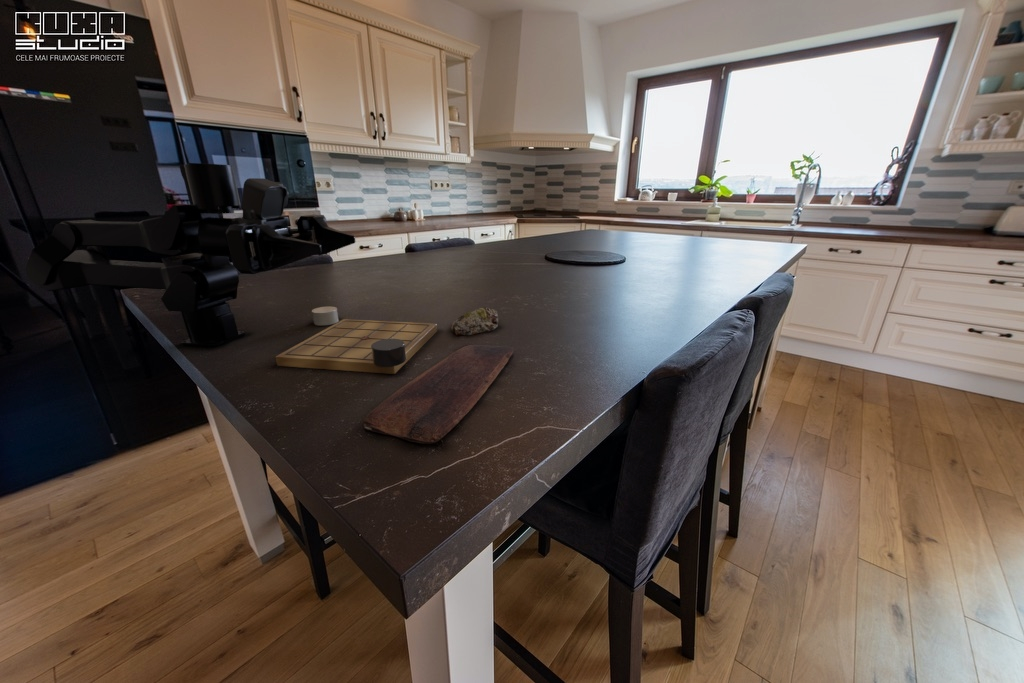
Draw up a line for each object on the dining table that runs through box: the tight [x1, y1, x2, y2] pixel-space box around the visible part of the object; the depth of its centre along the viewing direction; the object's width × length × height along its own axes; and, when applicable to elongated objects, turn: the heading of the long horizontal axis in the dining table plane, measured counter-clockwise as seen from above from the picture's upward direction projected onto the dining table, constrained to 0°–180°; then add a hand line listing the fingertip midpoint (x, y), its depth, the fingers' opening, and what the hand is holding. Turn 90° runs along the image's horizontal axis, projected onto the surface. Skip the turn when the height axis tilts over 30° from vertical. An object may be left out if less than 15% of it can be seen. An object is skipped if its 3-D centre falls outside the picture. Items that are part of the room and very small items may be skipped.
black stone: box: [371, 339, 406, 367], centre depth 55 cm, size 4×4×2 cm
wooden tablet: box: [362, 344, 514, 445], centre depth 51 cm, size 26×2×10 cm
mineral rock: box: [450, 307, 500, 336], centre depth 73 cm, size 11×4×8 cm
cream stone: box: [311, 306, 340, 326], centre depth 76 cm, size 4×4×2 cm
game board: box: [275, 318, 438, 375], centre depth 64 cm, size 18×18×2 cm
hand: (339, 243), depth 58 cm, fingers open, 9 cm apart
